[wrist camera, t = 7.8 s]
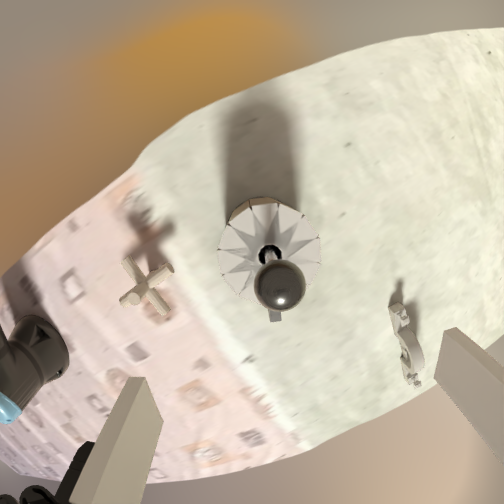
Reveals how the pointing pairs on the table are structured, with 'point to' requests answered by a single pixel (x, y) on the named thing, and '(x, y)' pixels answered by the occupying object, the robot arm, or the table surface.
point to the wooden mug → (265, 233)
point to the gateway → (407, 345)
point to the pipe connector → (146, 285)
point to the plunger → (278, 281)
